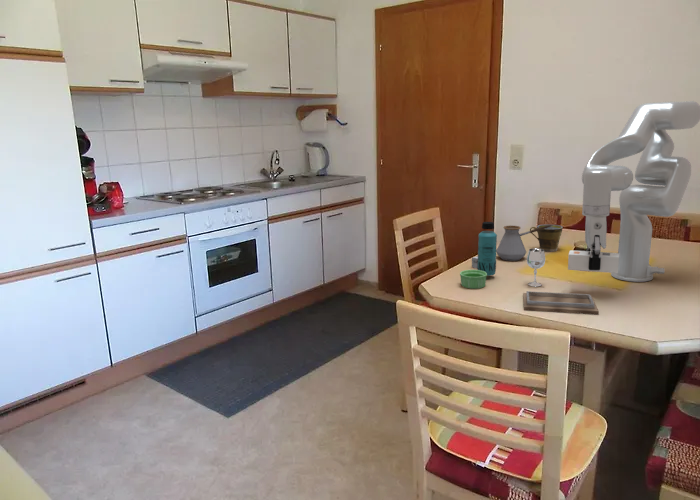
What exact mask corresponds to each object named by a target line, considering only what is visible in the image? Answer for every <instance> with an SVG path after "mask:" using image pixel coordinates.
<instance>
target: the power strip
mask: <svg viewBox="0 0 700 500" xmlns="http://www.w3.org/2000/svg"><path fill="white" fill-rule="evenodd" d="M567 256H568V259H567V261H568V262H567V263H568V264H567V270H568V271H582V272H596V273H610V274H611V273H618V264H619V253H618V252H610V251H609V252H608V251H601V263H600V270H589V257H590V251H587V250H571V249H570V250H569V252H568V255H567Z"/></svg>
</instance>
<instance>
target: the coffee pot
mask: <svg viewBox="0 0 700 500" xmlns="http://www.w3.org/2000/svg"><path fill="white" fill-rule="evenodd" d="M544 225H545V224H544ZM552 225H553V224H551V225H548V226H546V225H545V226H544V227H539V228H537V227H536V229H534V228H532V229H531V231H530V230H529V231H525V232H522V233H520V229H521V226H519V225H504V226H503V229H504V234H503V236H502V238H501V240H500V241H499V244H498V246H497V247H496V249H497V250H496V254H497V255H498V256H497V255H496V256H497V257H500V260H503V261H511V262H516V261H521V260H522V258H524V257H526V254H527V251H526V248H525V245H524V243H523V240H522V238H521V237H522V236H524V235H525V236H526V235H528V234H531V233H536V232H537V231H540V230H542V229H545V228H546V229H547V227H551V226H552ZM552 227H553V226H552ZM552 227H551V229H552ZM552 230H553V229H552Z"/></svg>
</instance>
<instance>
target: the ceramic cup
mask: <svg viewBox="0 0 700 500" xmlns="http://www.w3.org/2000/svg"><path fill="white" fill-rule="evenodd" d="M545 225H546V226H548V225H552V226H553V227H552V226H551V227H552V229H553V230H552V229H551V227H547V229H546V228H545V229H542V230H540V231H536V232H537V236H536V234H535V233H534V232H532V233H530V234H531V235H532V236H534V237H535V238H536V239H537V241H538V243H539V249H543V250H544V252H547V253H553V252H557V251H558V249H559V243H560V239H561V237H562V234H563V233H562V232H563V228H564V227H563V226H562V225H558V224H551V223H549V224H546V223H545V224H539V225H537V226H536V227H535V226H532V227H530V229H529V231H531V230H533V229H536V228H539V227H544V226H545Z"/></svg>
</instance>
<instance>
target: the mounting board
mask: <svg viewBox="0 0 700 500" xmlns="http://www.w3.org/2000/svg"><path fill="white" fill-rule="evenodd" d="M522 294H523V295H522V299H523V310H524V311H531V312H533V311H534V312H549V313H552V312H553V313H567V314H580V313H583V315H584V314H585V315H595V316H596V315H597V316H599V313H600V311H599V309H598V306H597V304H596V302H595V300H594V298H593V296H592V295H591V294H589V293H588V294H587V293H568V292H567V293H566V292H550V291H549V292H547V291H531V290H529V291H526V292H523V293H522Z"/></svg>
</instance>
